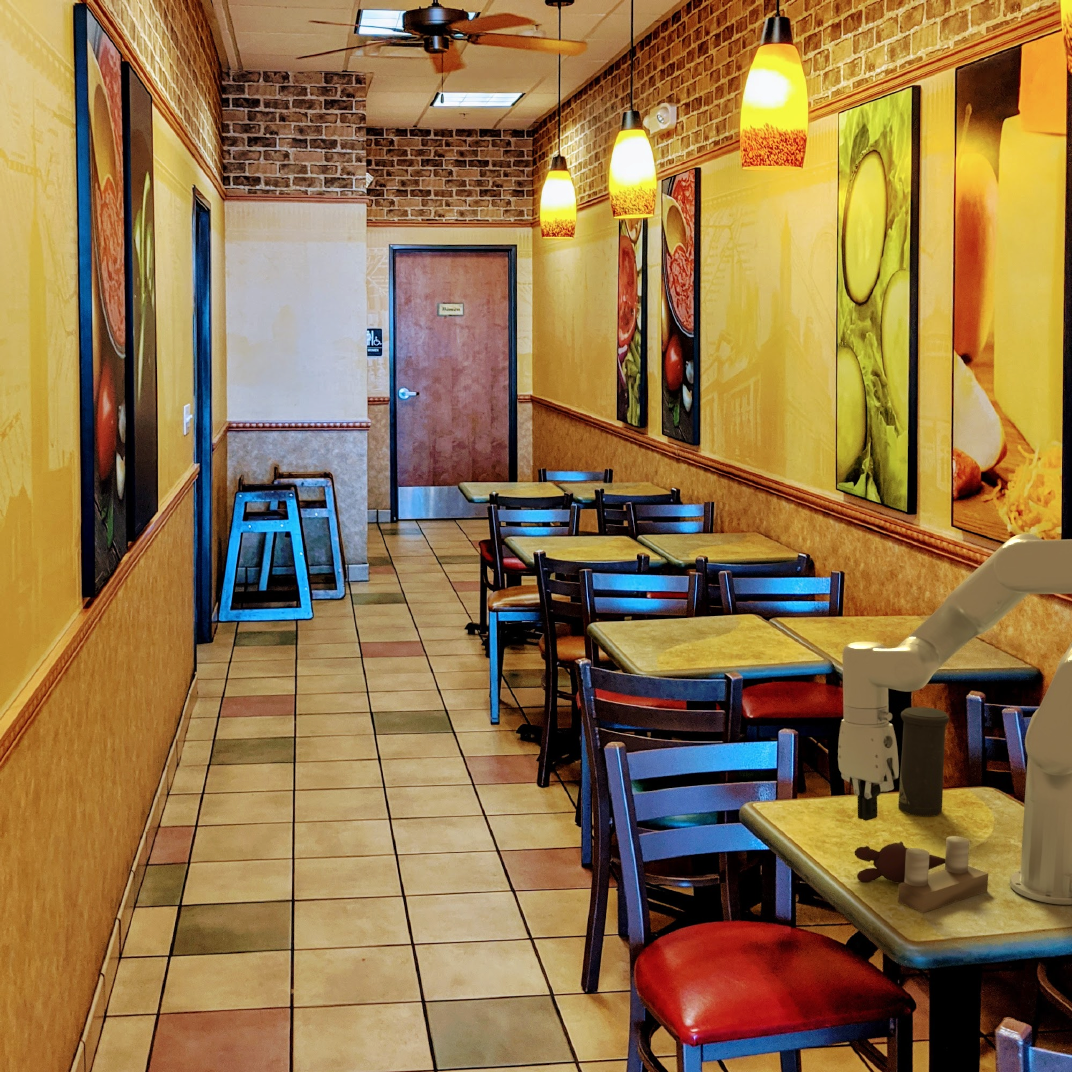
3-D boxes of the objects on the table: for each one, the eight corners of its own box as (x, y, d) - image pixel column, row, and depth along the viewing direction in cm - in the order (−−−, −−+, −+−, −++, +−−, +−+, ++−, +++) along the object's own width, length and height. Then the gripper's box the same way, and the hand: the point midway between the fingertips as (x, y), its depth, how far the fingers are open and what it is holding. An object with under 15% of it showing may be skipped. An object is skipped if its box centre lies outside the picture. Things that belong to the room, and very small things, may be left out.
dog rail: (987, 890, 213) (990, 844, 212) (923, 912, 204) (925, 863, 203) (957, 879, 218) (960, 833, 217) (893, 900, 209) (896, 852, 208)
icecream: (939, 836, 220) (849, 841, 221) (950, 841, 213) (857, 846, 214) (943, 878, 219) (853, 883, 220) (954, 884, 212) (861, 889, 213)
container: (919, 799, 259) (924, 701, 256) (953, 813, 251) (959, 712, 249) (886, 806, 255) (891, 706, 252) (921, 820, 247) (926, 717, 244)
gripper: (915, 718, 220) (916, 824, 221) (847, 703, 232) (849, 803, 234) (885, 726, 215) (886, 833, 217) (818, 710, 228) (820, 812, 230)
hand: (867, 817), depth 225 cm, fingers closed
